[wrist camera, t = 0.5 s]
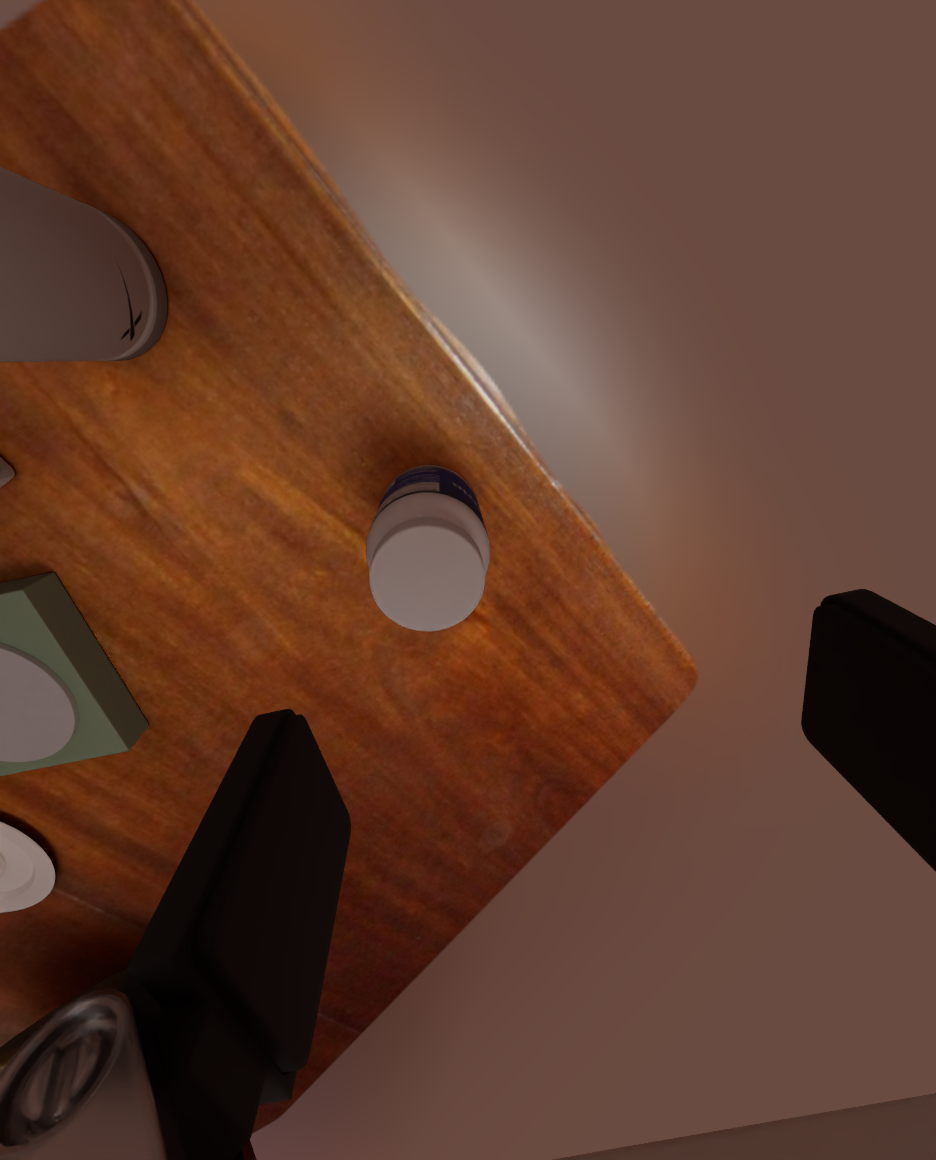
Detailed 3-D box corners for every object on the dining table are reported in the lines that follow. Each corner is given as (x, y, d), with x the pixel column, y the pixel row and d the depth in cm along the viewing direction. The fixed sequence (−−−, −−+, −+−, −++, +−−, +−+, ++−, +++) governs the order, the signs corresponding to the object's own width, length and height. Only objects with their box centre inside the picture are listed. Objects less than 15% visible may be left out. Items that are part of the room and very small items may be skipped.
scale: (-122, 607, 29) (-178, 632, 26) (54, 571, 28) (15, 593, 26) (-1, 754, 34) (-38, 787, 31) (149, 724, 33) (125, 756, 31)
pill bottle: (491, 537, 29) (516, 618, 20) (404, 569, 30) (390, 661, 21) (458, 446, 27) (469, 492, 18) (364, 482, 27) (328, 544, 18)
